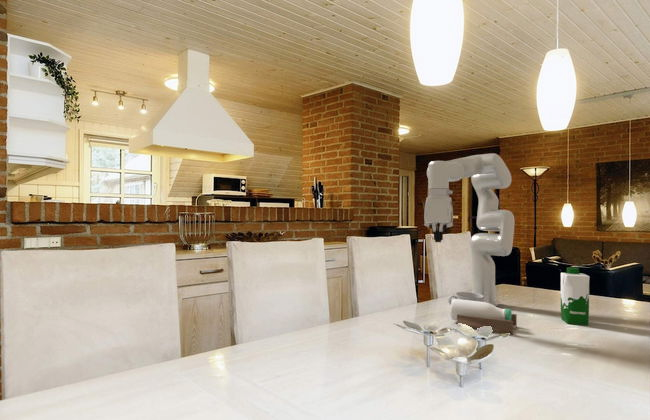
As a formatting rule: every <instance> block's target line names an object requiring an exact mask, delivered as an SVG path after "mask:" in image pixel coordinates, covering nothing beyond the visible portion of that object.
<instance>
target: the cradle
mask: <svg viewBox="0 0 650 420" xmlns="http://www.w3.org/2000/svg"><path fill="white" fill-rule="evenodd" d="M511 314H512V315H511V321H509V320H501V319H493V318H485V317H477V316H468V315H460V314H457V321H456V324H457V323H462V324H466V325H468V326H470V327H472V328H473V329H477V328H480V327H483V326H491V327H492V330H493V332H492V333H496V334H501V335H503V334H502V333H510V334H511V336H513V335H514V333H515V330H516V328H517V327H518V326H517V322H518V321H517V319H518V318H517V316H518V314H515V313H511Z"/></svg>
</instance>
